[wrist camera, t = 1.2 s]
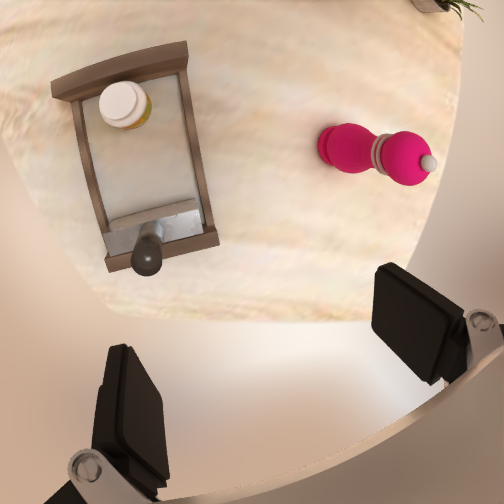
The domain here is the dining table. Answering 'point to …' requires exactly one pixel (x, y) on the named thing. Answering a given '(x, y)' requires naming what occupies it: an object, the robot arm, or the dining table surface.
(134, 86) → the supplement bottle
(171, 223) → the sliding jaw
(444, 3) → the house plant
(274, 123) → the dining table surface
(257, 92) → the dining table surface
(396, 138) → the pepper mill
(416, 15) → the dining table surface
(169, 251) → the vise frame
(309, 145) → the dining table surface
